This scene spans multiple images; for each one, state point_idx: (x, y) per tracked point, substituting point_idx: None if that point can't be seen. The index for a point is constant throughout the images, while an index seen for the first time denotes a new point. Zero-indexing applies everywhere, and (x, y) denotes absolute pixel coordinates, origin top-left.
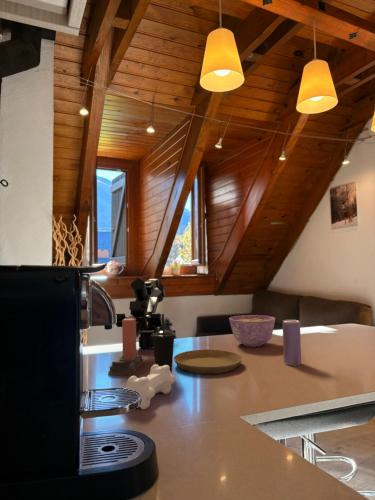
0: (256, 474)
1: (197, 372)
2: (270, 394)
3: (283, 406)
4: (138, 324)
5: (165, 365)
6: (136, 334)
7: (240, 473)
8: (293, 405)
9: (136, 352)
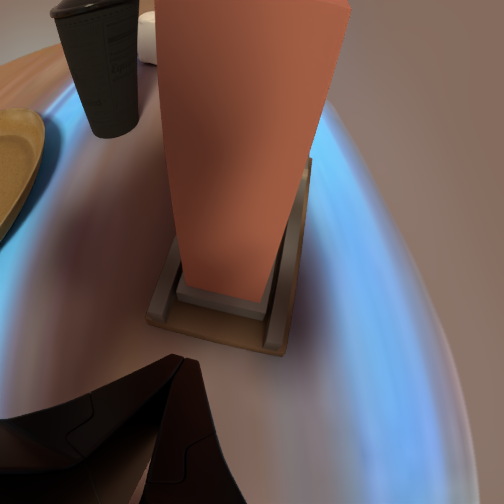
0: (141, 4)
1: (24, 136)
2: (15, 71)
3: (36, 51)
4: (59, 452)
5: (148, 12)
6: (153, 365)
7: (150, 3)
8: (26, 55)
9: (183, 268)
